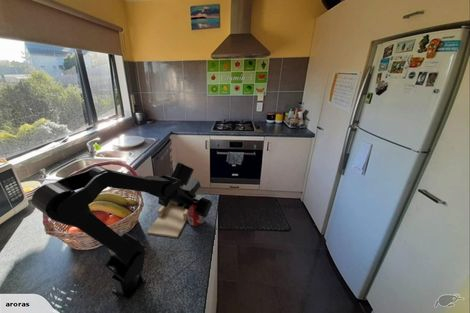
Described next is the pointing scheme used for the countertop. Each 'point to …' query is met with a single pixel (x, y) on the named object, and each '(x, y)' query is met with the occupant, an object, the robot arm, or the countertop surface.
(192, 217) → the soda can
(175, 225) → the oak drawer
